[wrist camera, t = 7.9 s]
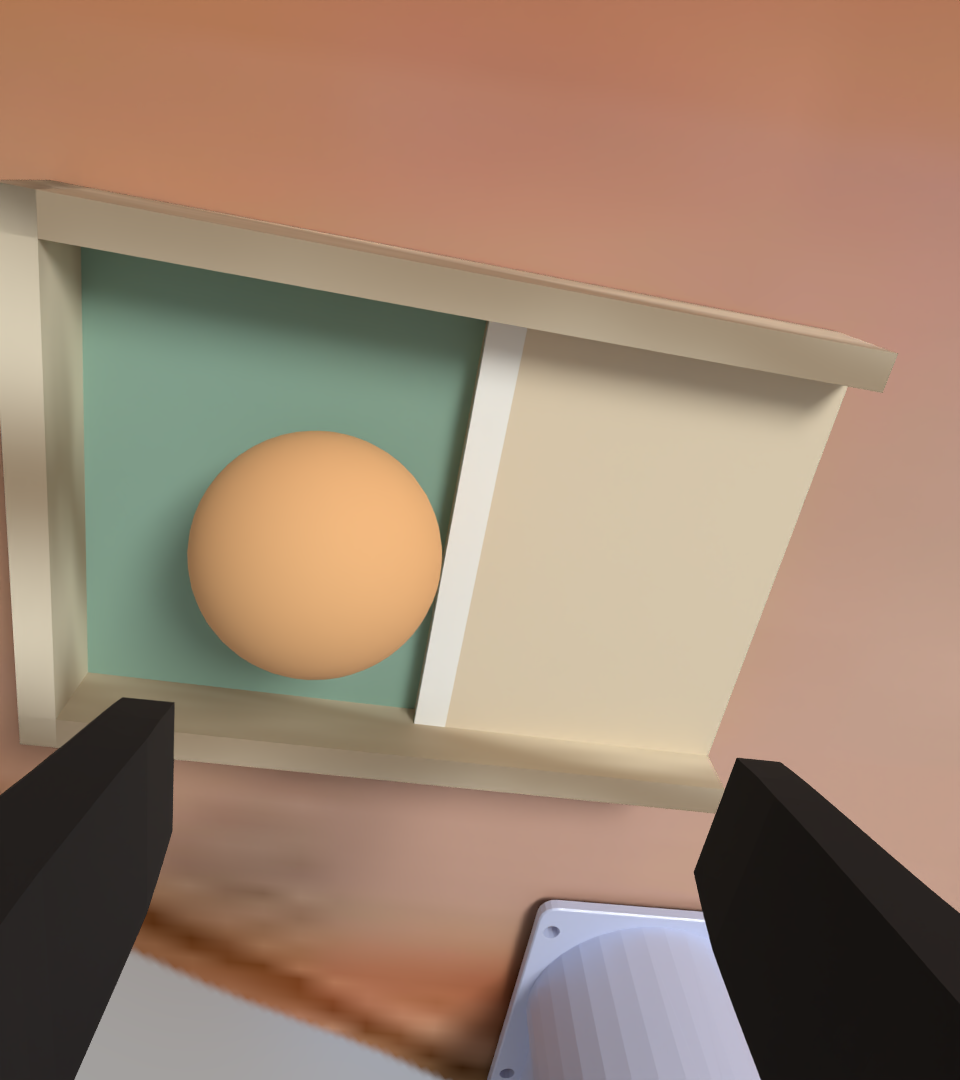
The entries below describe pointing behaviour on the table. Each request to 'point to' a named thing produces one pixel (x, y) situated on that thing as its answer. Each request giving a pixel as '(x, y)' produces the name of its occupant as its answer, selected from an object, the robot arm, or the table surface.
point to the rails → (351, 269)
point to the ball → (314, 555)
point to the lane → (452, 497)
